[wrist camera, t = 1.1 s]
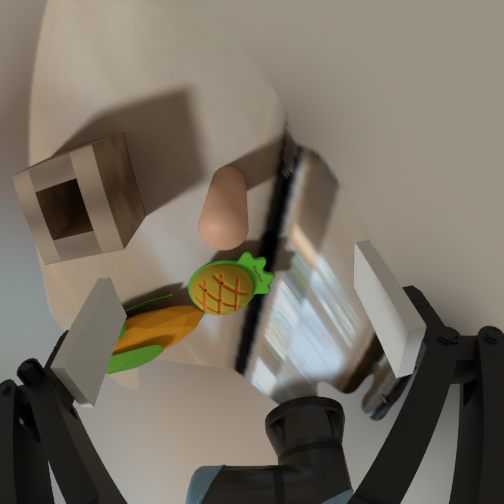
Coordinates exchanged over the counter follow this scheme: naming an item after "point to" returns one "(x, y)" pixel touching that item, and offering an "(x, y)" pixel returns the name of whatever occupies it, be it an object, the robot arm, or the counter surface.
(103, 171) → the socket block
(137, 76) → the counter surface
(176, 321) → the corn
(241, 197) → the peg
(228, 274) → the toy pineapple
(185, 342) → the counter surface
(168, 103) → the counter surface
